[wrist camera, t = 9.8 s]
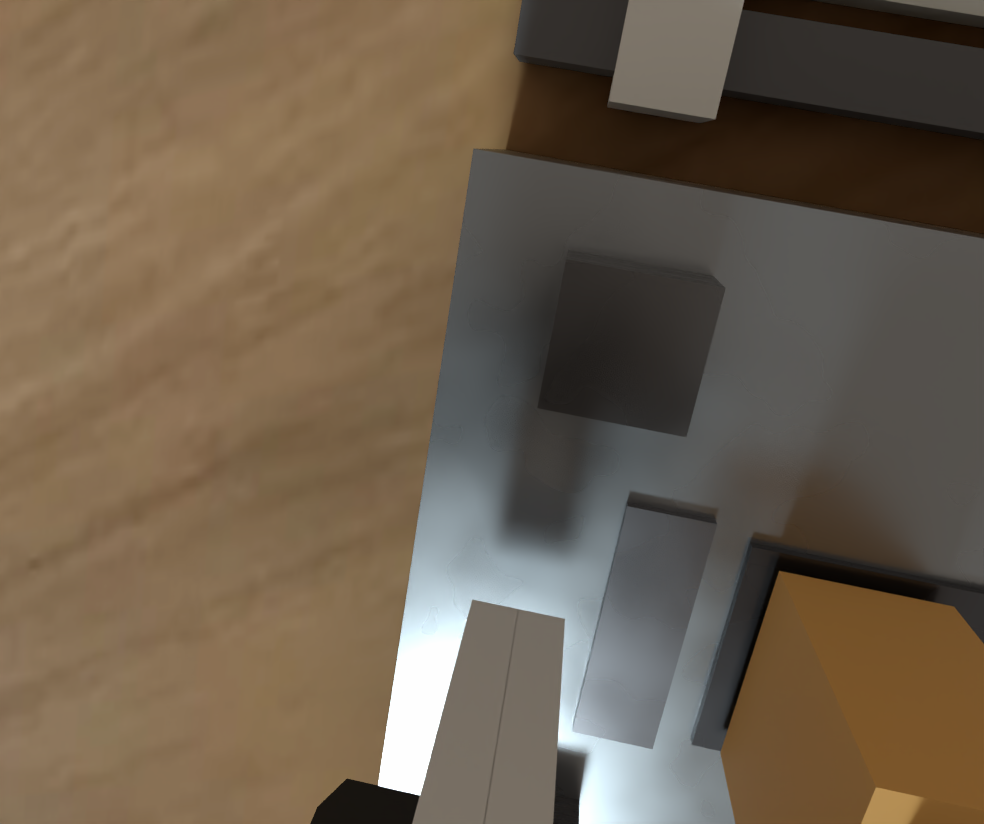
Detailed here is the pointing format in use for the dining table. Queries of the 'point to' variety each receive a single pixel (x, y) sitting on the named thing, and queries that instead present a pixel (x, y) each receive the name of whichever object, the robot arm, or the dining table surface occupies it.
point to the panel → (682, 453)
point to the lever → (858, 711)
